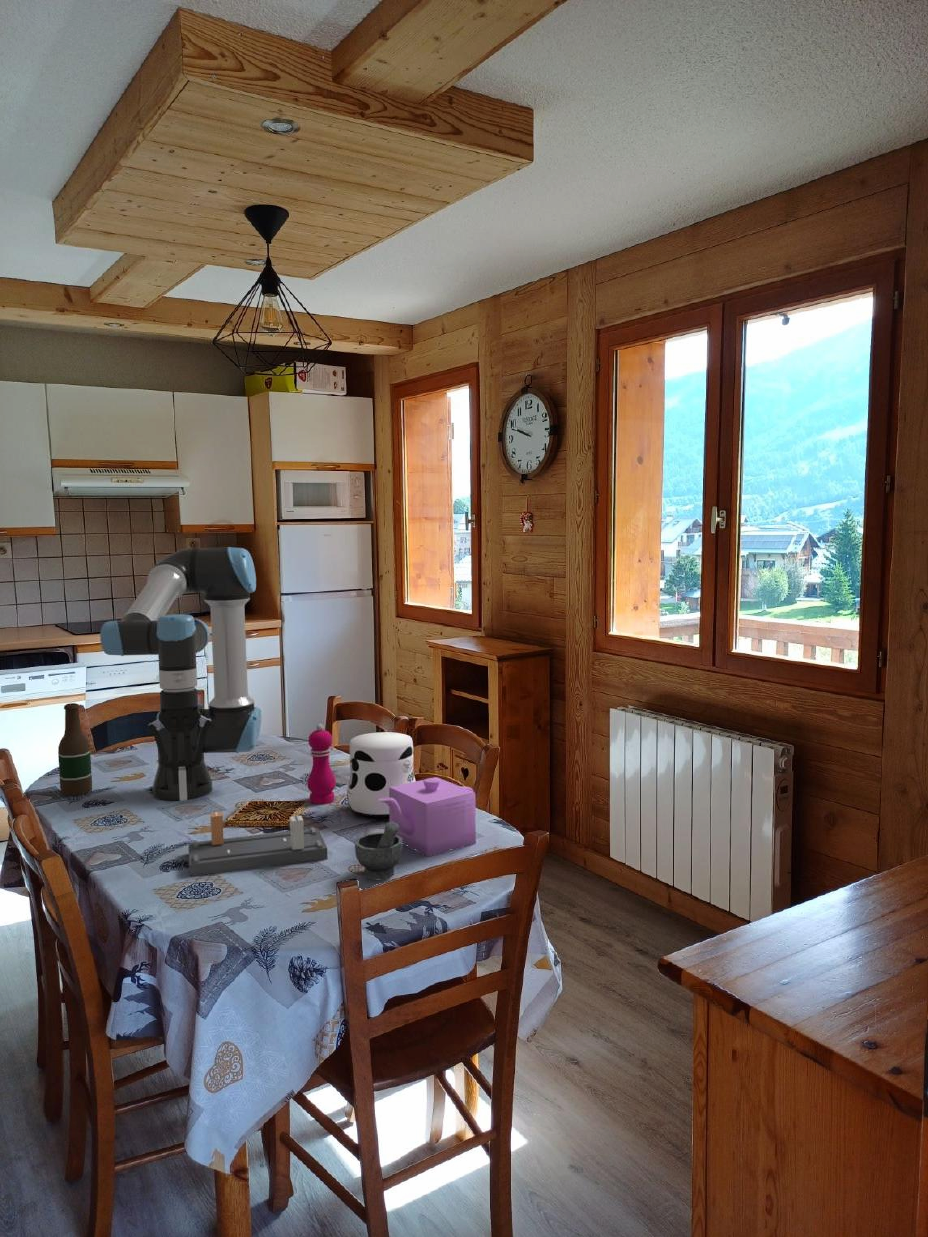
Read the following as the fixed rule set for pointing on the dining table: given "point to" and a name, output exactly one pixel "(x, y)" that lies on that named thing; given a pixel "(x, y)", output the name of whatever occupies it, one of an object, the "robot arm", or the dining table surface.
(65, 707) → the beer bottle
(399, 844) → the mortar and pestle
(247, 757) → the dining table surface
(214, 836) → the orange fader
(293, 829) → the block
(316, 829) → the console
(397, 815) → the teapot
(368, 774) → the cow-print canister
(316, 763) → the pepper mill
